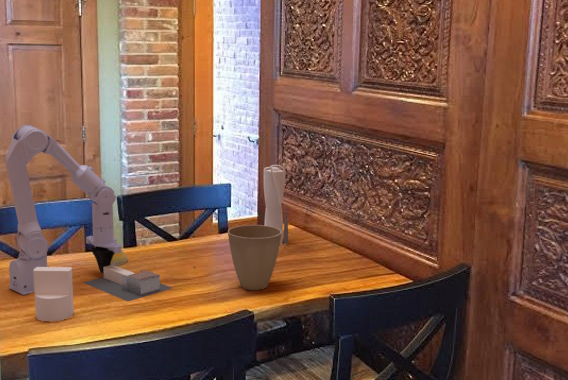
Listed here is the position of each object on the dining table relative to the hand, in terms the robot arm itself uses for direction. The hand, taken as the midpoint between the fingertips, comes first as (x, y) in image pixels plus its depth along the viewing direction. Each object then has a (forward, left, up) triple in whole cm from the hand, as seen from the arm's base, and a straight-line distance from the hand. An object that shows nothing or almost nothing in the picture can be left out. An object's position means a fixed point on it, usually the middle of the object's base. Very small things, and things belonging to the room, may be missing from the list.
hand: (104, 272), depth 216 cm
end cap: (0, -18, -1) cm, 18 cm away
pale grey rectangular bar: (0, -7, -1) cm, 7 cm away
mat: (-1, -12, -1) cm, 12 cm away
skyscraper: (+60, -11, -2) cm, 61 cm away
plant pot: (+25, -36, -2) cm, 44 cm away
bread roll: (+10, +9, -2) cm, 14 cm away
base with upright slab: (-26, -17, -2) cm, 31 cm away
